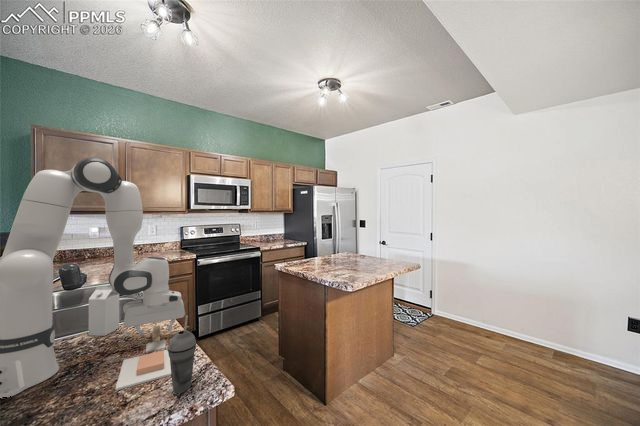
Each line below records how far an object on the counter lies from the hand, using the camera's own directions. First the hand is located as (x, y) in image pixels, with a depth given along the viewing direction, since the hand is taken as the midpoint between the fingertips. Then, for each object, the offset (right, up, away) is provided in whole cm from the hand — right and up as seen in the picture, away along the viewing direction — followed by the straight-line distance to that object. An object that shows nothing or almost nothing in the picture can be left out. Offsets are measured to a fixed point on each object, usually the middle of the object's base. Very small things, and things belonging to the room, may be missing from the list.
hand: (155, 332), depth 102 cm
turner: (+1, -3, -1) cm, 3 cm away
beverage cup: (+26, -2, -29) cm, 39 cm away
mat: (+10, -2, -19) cm, 22 cm away
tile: (+10, -1, -19) cm, 22 cm away
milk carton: (-26, -3, +7) cm, 27 cm away
